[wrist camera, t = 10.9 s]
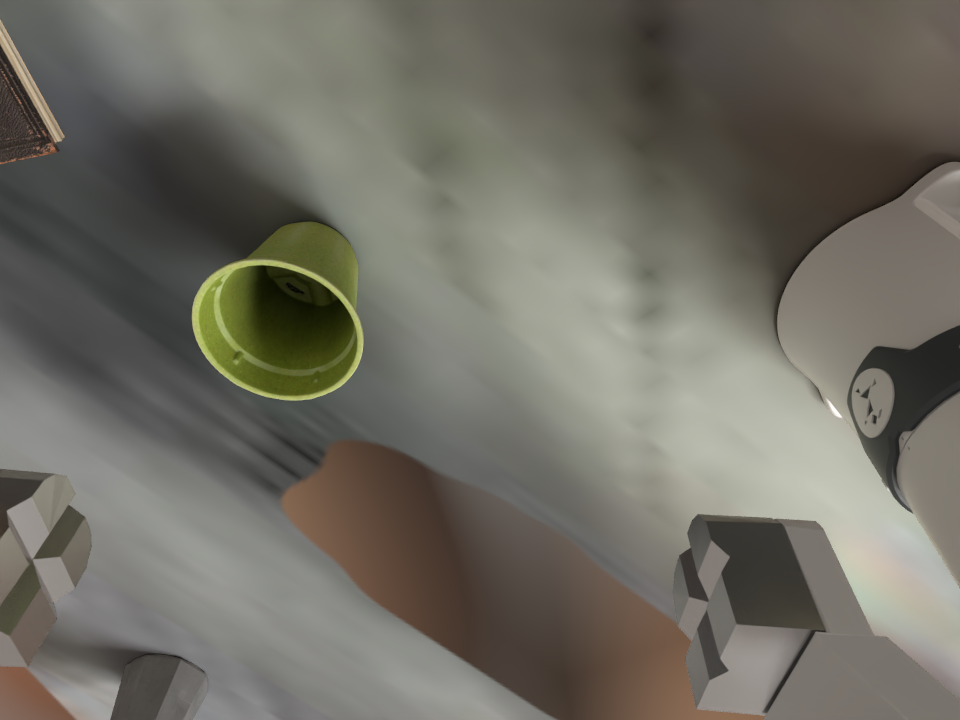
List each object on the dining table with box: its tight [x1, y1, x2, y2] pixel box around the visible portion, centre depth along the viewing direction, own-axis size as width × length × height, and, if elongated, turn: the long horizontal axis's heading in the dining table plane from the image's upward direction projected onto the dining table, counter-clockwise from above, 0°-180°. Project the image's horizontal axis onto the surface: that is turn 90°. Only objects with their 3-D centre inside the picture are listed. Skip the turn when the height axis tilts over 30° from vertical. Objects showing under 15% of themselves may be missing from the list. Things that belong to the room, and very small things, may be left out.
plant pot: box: [192, 222, 364, 400], centre depth 42 cm, size 9×9×9 cm
